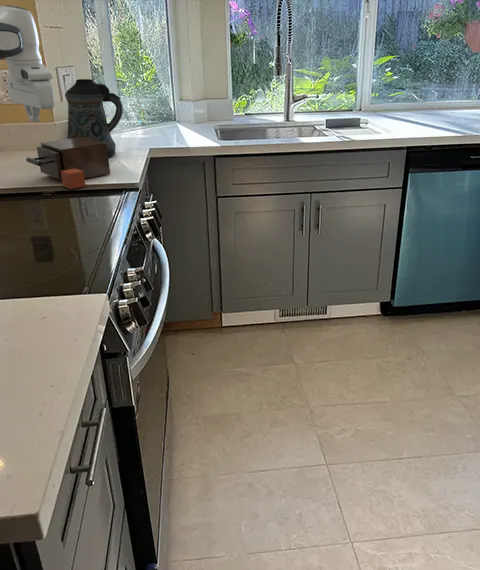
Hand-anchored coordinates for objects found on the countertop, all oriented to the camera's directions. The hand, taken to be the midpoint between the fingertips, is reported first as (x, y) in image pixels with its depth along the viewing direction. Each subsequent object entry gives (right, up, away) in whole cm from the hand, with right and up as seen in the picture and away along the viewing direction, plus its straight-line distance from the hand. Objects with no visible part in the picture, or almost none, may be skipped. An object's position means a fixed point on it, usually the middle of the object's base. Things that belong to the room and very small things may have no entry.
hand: (34, 121), depth 169 cm
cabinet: (+7, -12, +15) cm, 20 cm away
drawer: (+4, -13, +11) cm, 17 cm away
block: (+10, -18, +2) cm, 21 cm away
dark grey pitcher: (+3, -1, +38) cm, 38 cm away
